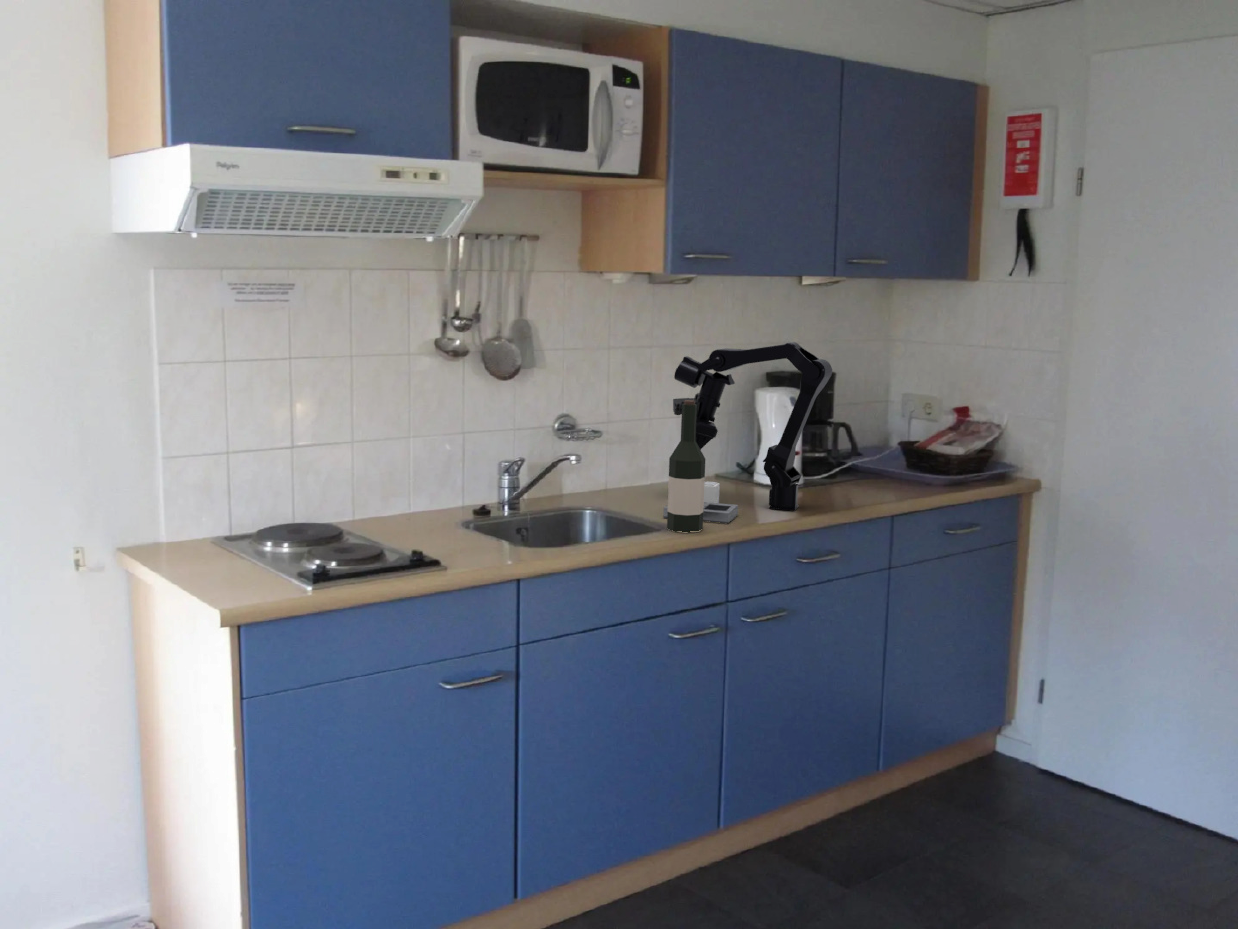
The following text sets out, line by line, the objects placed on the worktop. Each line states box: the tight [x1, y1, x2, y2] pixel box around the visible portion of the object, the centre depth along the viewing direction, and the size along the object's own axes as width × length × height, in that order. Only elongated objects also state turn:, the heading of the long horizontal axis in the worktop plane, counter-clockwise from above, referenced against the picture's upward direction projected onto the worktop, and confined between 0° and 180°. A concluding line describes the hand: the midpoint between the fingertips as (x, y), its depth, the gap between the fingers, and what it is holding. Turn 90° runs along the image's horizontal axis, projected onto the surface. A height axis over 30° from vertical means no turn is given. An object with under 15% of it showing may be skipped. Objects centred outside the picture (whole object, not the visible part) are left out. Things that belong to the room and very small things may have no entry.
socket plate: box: [662, 502, 739, 524], centre depth 297 cm, size 16×11×3 cm
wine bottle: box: [666, 400, 706, 532], centre depth 280 cm, size 8×8×30 cm
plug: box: [704, 481, 720, 503], centre depth 309 cm, size 4×5×6 cm
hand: (690, 449), depth 320 cm, fingers open, 9 cm apart
